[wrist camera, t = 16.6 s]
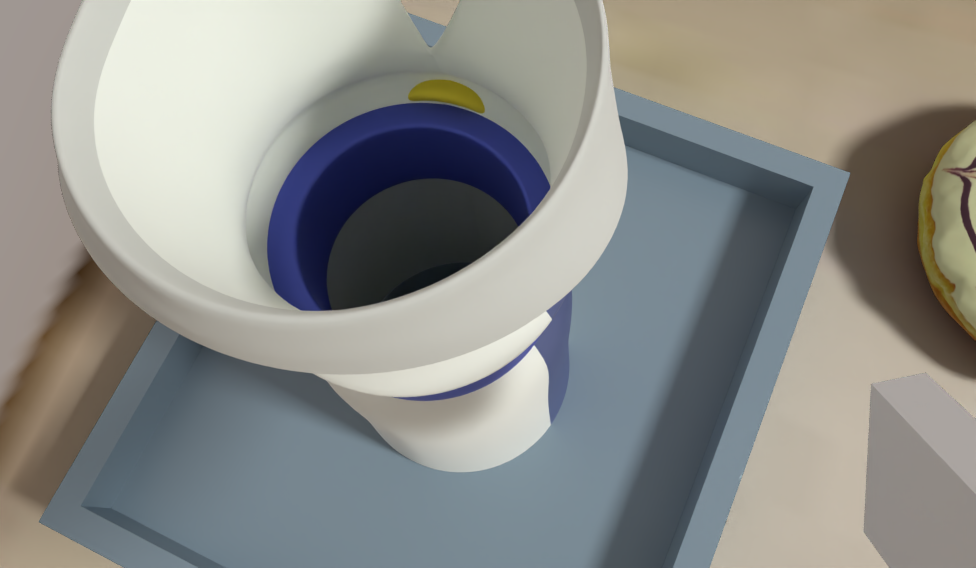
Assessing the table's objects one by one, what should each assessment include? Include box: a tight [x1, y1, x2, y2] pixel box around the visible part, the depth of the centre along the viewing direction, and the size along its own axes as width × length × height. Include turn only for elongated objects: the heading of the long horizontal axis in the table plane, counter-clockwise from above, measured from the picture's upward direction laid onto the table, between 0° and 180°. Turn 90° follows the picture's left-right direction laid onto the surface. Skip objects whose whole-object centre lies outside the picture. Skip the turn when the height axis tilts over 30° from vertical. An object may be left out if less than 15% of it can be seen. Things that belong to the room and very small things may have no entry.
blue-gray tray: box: [39, 13, 850, 568], centre depth 28 cm, size 22×20×3 cm
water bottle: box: [51, 0, 628, 472], centre depth 17 cm, size 8×9×25 cm
